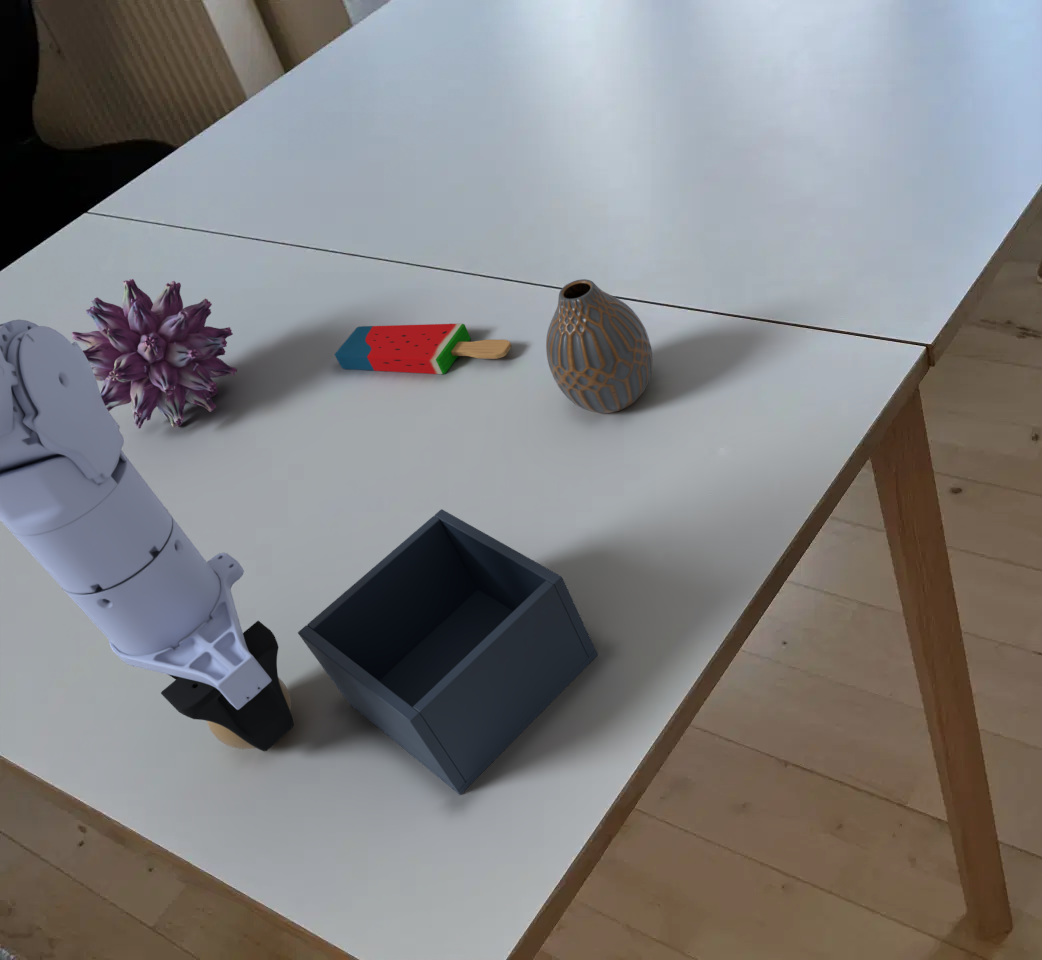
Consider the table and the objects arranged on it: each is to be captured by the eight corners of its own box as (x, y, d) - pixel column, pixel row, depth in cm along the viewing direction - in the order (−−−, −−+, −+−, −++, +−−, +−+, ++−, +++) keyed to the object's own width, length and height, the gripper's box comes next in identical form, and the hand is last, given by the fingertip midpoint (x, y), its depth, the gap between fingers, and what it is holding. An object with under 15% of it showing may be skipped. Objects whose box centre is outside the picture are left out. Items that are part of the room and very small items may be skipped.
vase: (676, 364, 77) (644, 257, 71) (641, 430, 72) (604, 322, 67) (589, 362, 80) (551, 259, 74) (550, 425, 75) (507, 321, 70)
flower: (269, 428, 88) (112, 478, 84) (237, 360, 96) (93, 402, 92) (227, 299, 80) (53, 347, 76) (196, 238, 89) (39, 278, 85)
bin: (460, 795, 55) (410, 721, 51) (349, 704, 62) (297, 632, 57) (598, 654, 59) (562, 576, 55) (481, 583, 66) (441, 508, 62)
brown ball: (255, 778, 59) (213, 732, 57) (217, 740, 62) (175, 694, 59) (319, 720, 61) (282, 672, 58) (279, 686, 64) (242, 638, 61)
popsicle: (491, 360, 81) (330, 357, 87) (498, 376, 82) (338, 372, 88) (517, 322, 84) (359, 323, 90) (523, 338, 84) (367, 337, 91)
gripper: (259, 548, 49) (384, 724, 58) (125, 450, 58) (250, 615, 67) (123, 658, 46) (277, 825, 55) (4, 536, 55) (152, 697, 64)
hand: (255, 716), depth 61 cm, fingers closed on brown ball, 4 cm apart
